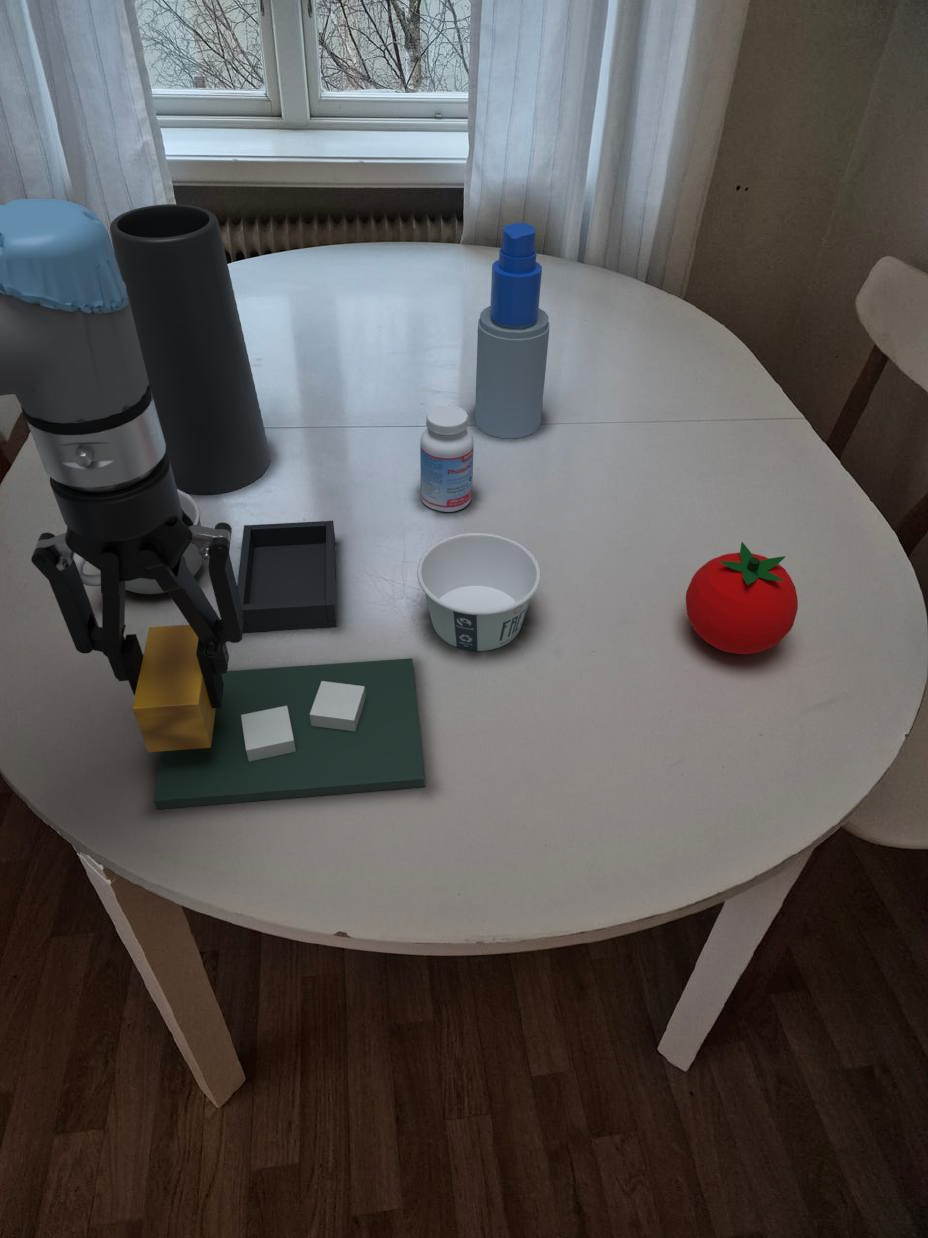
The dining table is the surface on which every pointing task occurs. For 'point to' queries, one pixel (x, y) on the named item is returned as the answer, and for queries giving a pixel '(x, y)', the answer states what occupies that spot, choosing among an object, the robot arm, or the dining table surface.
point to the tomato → (742, 602)
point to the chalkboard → (302, 739)
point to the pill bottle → (446, 459)
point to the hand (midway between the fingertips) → (182, 698)
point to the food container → (478, 589)
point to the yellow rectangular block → (172, 692)
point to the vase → (192, 346)
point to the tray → (288, 576)
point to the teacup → (150, 585)
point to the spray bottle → (512, 341)
